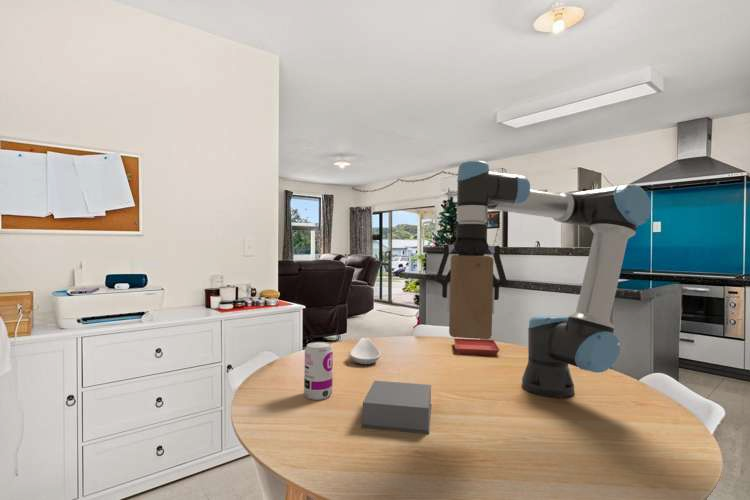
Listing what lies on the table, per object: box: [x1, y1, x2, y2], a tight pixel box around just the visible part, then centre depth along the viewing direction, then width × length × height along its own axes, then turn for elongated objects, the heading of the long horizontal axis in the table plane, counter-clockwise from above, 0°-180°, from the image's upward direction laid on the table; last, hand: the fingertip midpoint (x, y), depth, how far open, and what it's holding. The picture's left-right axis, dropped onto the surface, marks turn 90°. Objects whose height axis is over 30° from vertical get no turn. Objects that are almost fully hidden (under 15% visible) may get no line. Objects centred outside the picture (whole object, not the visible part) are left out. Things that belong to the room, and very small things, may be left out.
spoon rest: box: [349, 337, 382, 366], centre depth 154 cm, size 24×12×7 cm, turn 3°
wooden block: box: [448, 254, 494, 340], centre depth 97 cm, size 10×10×20 cm
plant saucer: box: [453, 337, 500, 357], centre depth 168 cm, size 18×18×3 cm
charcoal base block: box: [360, 380, 432, 435], centre depth 101 cm, size 16×16×6 cm
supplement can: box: [303, 341, 334, 401], centre depth 114 cm, size 8×8×15 cm
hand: (469, 311), depth 98 cm, fingers closed on wooden block, 10 cm apart
